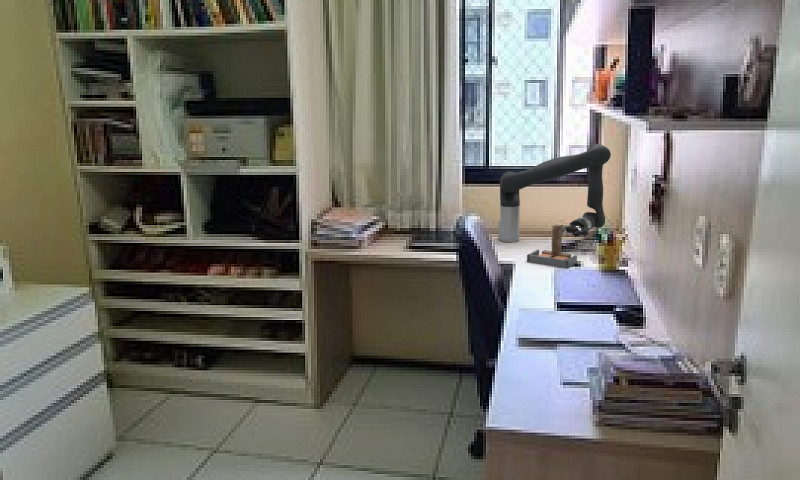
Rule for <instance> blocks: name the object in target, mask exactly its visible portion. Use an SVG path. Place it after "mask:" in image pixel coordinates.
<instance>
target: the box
mask: <svg viewBox="0 0 800 480" xmlns="http://www.w3.org/2000/svg"><path fill="white" fill-rule="evenodd" d="M538 255H540V249H535V250H534V251H532V252H530V253H528V254H526V262H528V263H533V264H539V265H544V266H545V265H546V266H552V267H558V268H564V269H568V268H570V267H572V266H573V265H575V264H577V262H578V255H577V254H575V255H572V256H571V258H569V259H568V260H562V259H555V258H549V257H542V256H538Z"/></svg>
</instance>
